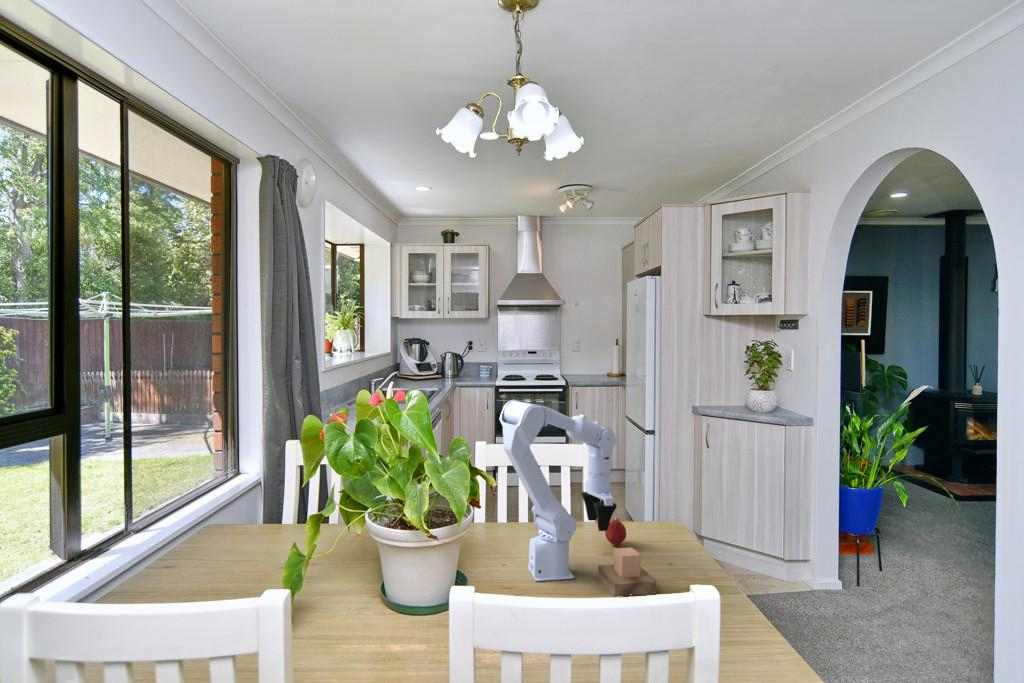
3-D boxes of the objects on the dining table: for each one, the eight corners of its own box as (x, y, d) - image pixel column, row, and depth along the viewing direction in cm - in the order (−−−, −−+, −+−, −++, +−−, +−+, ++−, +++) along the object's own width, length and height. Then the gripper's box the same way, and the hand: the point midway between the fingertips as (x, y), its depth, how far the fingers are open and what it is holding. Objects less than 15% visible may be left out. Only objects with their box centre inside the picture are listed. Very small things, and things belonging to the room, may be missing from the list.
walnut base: (614, 597, 121) (614, 584, 121) (598, 577, 131) (598, 565, 131) (655, 594, 123) (656, 581, 123) (636, 575, 133) (637, 562, 133)
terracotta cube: (621, 578, 124) (622, 556, 124) (613, 569, 129) (614, 548, 129) (639, 576, 125) (640, 555, 125) (631, 568, 130) (632, 547, 130)
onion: (625, 551, 148) (626, 521, 148) (604, 548, 149) (605, 519, 149) (625, 543, 153) (626, 514, 153) (605, 541, 155) (606, 513, 154)
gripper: (625, 479, 134) (623, 534, 134) (603, 465, 148) (601, 515, 148) (598, 480, 132) (596, 536, 133) (578, 465, 146) (576, 516, 147)
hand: (597, 525), depth 140 cm, fingers open, 7 cm apart
